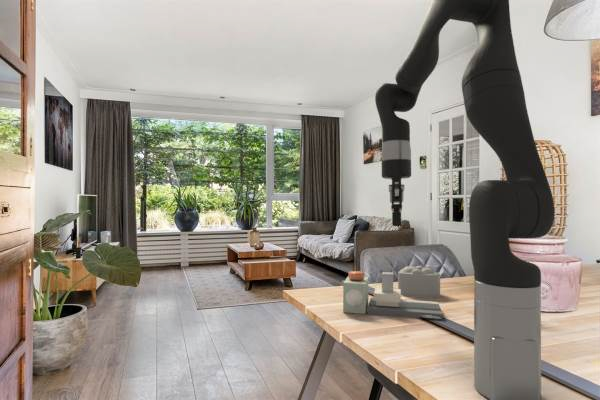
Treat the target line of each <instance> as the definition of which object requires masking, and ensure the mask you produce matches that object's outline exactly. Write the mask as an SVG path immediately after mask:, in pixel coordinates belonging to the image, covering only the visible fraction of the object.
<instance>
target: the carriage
mask: <svg viewBox="0 0 600 400" xmlns="http://www.w3.org/2000/svg"><path fill="white" fill-rule="evenodd" d="M401 296H402V295H401V289H398V288H394V272H389V271H388V272H387V271H382V273H381V287H375V289H374V292H373V298H374V301H376V305H378V306H392V307H399V302H400V303H401V300H402V299H401Z"/></svg>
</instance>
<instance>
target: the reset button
mask: <svg viewBox="0 0 600 400" xmlns="http://www.w3.org/2000/svg"><path fill="white" fill-rule="evenodd" d="M348 276H349V279H352V281H360V280H362V279H364V277H365V272H364V271H358V270H357V271H354V270H351V271H348Z"/></svg>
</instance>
